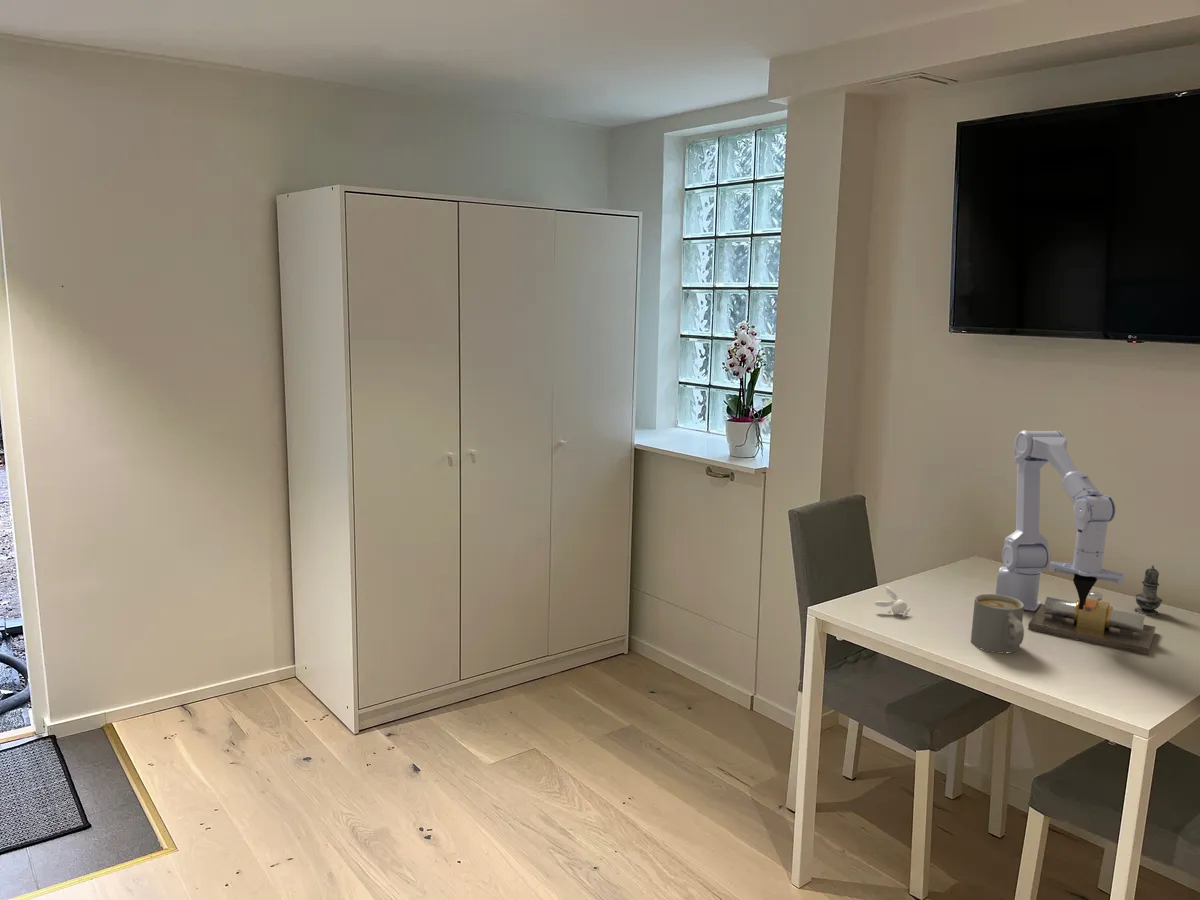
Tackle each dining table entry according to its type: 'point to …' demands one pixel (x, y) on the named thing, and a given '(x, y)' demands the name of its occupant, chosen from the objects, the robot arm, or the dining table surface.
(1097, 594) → the valve lever
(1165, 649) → the dining table surface
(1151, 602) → the salt shaker
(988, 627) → the coffee mug
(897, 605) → the rabbit figurine
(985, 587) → the dining table surface
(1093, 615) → the valve manifold
